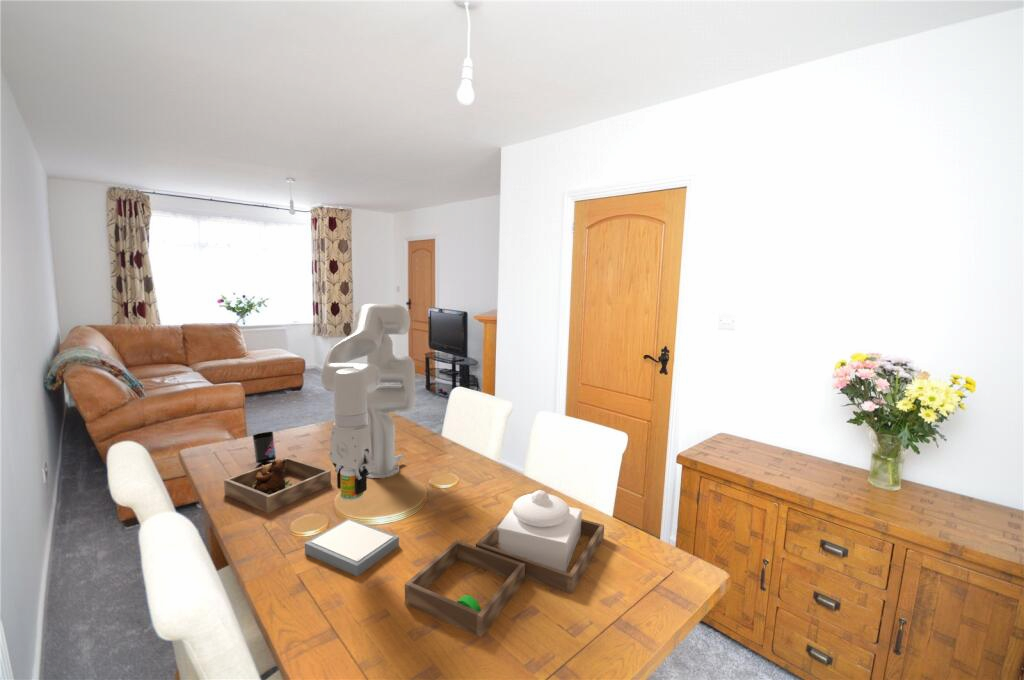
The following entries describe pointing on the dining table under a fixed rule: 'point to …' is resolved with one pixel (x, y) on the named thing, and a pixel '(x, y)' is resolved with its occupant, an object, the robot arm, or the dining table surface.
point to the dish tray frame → (545, 572)
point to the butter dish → (541, 530)
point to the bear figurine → (271, 478)
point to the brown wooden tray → (315, 481)
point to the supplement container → (264, 447)
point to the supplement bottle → (348, 484)
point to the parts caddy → (453, 610)
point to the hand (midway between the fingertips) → (352, 488)
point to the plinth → (351, 546)
